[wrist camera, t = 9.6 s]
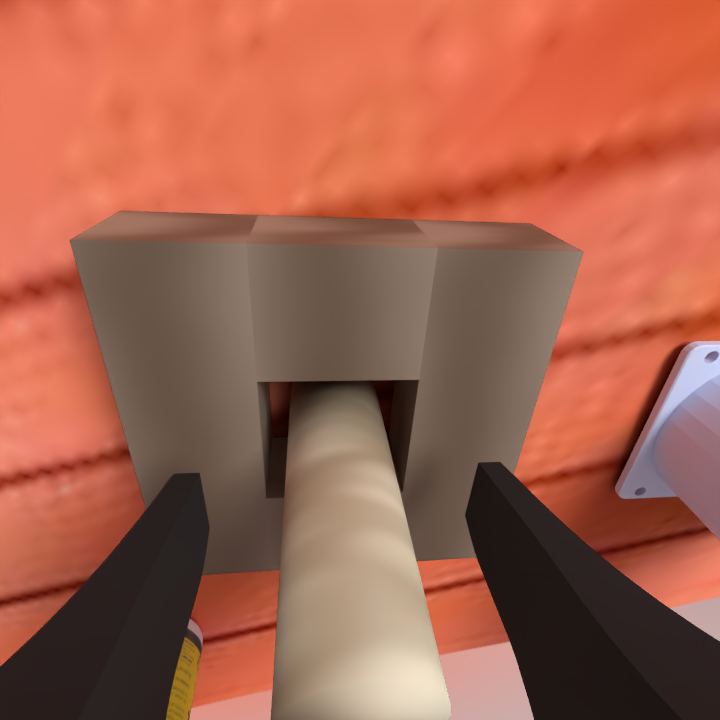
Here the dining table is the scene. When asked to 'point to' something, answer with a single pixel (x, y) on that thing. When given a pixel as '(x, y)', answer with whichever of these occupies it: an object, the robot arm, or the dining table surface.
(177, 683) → the supplement bottle
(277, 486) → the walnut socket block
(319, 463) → the beech peg
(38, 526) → the dining table surface
